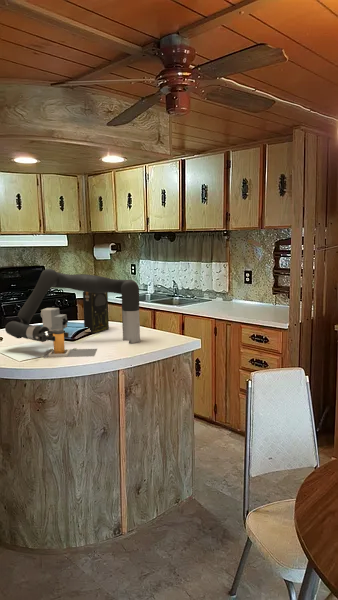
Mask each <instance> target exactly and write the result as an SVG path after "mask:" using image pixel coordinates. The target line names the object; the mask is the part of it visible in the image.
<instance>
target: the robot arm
mask: <svg viewBox="0 0 338 600" xmlns="http://www.w3.org/2000/svg"><path fill="white" fill-rule="evenodd" d="M52 288H61V289H63V288H64V289H70V290H75V291H79V292H91V293H112V294H119V295H121V315H122V317H121V318H122V319H121V320H122V322H121V324H122V326H121V327H122V341H124V342H125V341H127V342H128V343H129V344H135V343H141V325H140V324H141V323H140V288H139V285H138V283H137V282H136V281H135V280H134V279H133V280H132V279H116V278H109V277H105V276H100V275H95V274H79V273H78V274H69V273H67V274H66V273H62V272H57V270H55V269H52V268H47V269H44V270H43V271H42V272H41V273H40V276H39V278H38V280H37V283H36V285H35V286H34V289H33V291H32V292H31V294H30V295H29V296H28V297H27V299H26V301H25V302H24V304H23V305H22V307H21V309H20V310H19V311H18V313H17V317H18V318H19V320H20V322H19V321H16V320H12V321H9V322H7V323H6V325H5V327H4V328H5V329H4V330H5V332H6V334H8V335H10V336H12V337H14V338H16V339H22V338H23V339H26V340H31V341H34V342H35V341H36V342H41V343H45V342H46V341H47V342H49V341H50V342H51V341H52V342H53V341H55V336H53V330H49V329H48V328H47V327H45V326H43V325H38V324H36V325H35V324H34V325H33V324H30V323H31V320H32V318H33V317H34V315H35V314H36V312H37V310H39V307H40V305H41V303H42V301H43V299H44V298H45V295H47V293H48V292H49V290H50V289H52ZM64 338H69V332H67V331H66V330H64Z"/></svg>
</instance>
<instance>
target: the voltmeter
mask: <svg viewBox="0 0 338 600" xmlns="http://www.w3.org/2000/svg"><path fill="white" fill-rule="evenodd" d="M108 293H109V292H108ZM108 293H91V292H84V291H82V302H83V303H82V305H83V306H82V307H83V328H84V327H88V328H90V330H91V333H90V334H97V333H101V332H105V331H107V330H109V329H110V325H109V324H110V322H109V298H108V297H109V294H108Z"/></svg>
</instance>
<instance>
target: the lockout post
mask: <svg viewBox="0 0 338 600" xmlns="http://www.w3.org/2000/svg"><path fill="white" fill-rule="evenodd" d="M64 329H65V328H64ZM64 329H54V330H53V336H55V341H52V342H53V350H54V354H65V349H66V348H65V337H64V331H65V330H64Z"/></svg>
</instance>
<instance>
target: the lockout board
mask: <svg viewBox="0 0 338 600" xmlns="http://www.w3.org/2000/svg"><path fill="white" fill-rule="evenodd" d="M97 352H98V348H77V347H76V348H75V347H74V348H70V349H66V348H65V354H54V348H50V349H48V351H47V352H46V353H45V354H44V355H43V356H42V358H43V359H45V358H48V359H49V358H80V357H86V358H87V357H95V355H96V353H97Z"/></svg>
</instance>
